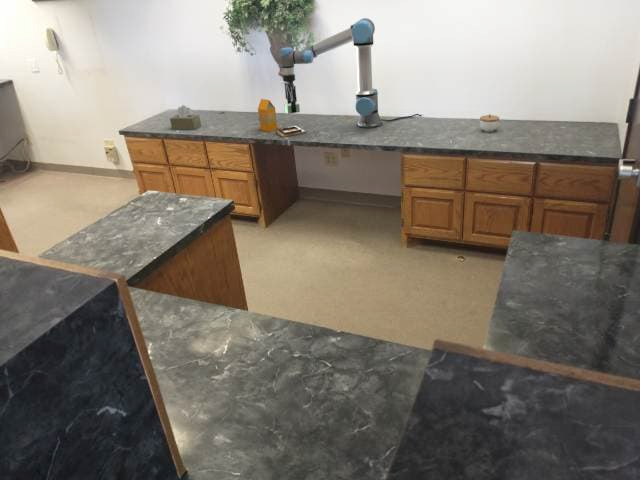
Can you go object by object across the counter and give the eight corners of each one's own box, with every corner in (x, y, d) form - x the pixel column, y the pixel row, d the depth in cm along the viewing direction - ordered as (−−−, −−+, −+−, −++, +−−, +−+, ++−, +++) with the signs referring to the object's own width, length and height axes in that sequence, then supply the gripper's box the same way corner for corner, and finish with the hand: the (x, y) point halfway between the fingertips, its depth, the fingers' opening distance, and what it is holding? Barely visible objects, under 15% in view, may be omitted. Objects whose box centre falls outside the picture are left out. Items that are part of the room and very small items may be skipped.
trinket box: (488, 134, 295) (489, 118, 291) (475, 130, 304) (476, 114, 299) (502, 130, 299) (503, 114, 295) (488, 126, 308) (490, 111, 304)
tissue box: (201, 125, 364) (197, 103, 357) (194, 129, 356) (190, 107, 349) (178, 125, 370) (174, 103, 363) (171, 129, 362) (166, 107, 354)
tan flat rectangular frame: (298, 128, 338) (298, 124, 337) (305, 132, 328) (305, 128, 327) (275, 133, 333) (275, 129, 332) (282, 137, 323) (281, 133, 322)
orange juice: (269, 127, 347) (265, 97, 337) (277, 129, 341) (274, 98, 332) (260, 130, 342) (256, 100, 333) (268, 132, 336) (264, 101, 327)
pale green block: (296, 110, 329) (295, 102, 327) (299, 112, 324) (299, 104, 322) (284, 112, 326) (284, 104, 324) (288, 114, 322) (287, 106, 319)
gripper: (278, 73, 321) (281, 109, 332) (288, 77, 305) (292, 115, 316) (289, 71, 323) (292, 107, 334) (300, 75, 308) (303, 113, 319)
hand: (292, 111), depth 325 cm, fingers closed on pale green block, 6 cm apart
